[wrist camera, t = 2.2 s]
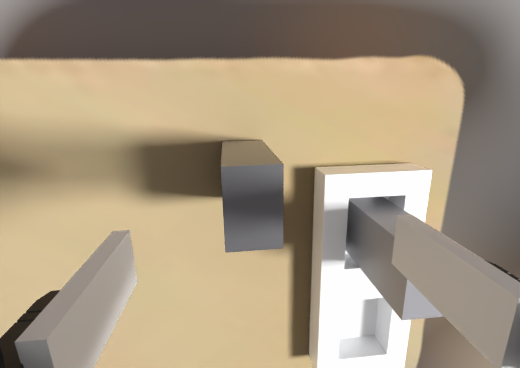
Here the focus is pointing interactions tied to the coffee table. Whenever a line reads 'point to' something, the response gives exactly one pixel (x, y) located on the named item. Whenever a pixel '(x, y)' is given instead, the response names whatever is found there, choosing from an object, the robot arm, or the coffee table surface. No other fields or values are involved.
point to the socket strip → (341, 278)
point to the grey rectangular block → (251, 196)
